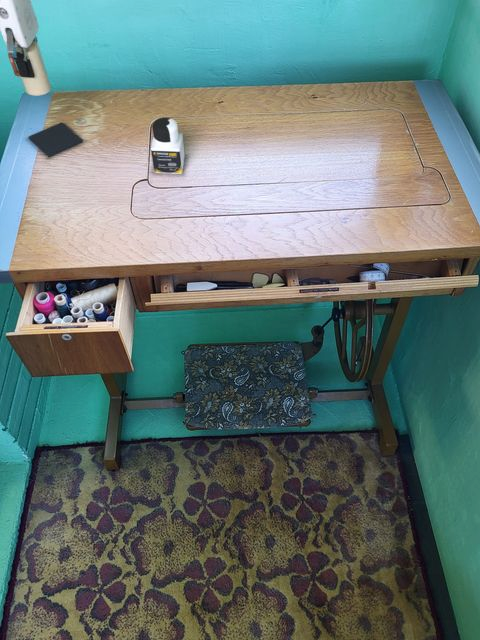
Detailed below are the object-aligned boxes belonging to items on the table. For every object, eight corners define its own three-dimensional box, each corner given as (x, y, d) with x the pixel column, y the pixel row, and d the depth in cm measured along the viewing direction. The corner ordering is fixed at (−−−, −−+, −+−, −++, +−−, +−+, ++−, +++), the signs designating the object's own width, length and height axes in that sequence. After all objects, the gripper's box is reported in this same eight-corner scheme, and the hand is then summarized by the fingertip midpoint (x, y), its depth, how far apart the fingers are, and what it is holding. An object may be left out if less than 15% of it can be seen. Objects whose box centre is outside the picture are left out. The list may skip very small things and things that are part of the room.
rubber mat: (48, 157, 135) (48, 155, 134) (29, 139, 139) (28, 136, 138) (82, 142, 139) (81, 139, 138) (62, 124, 142) (61, 122, 142)
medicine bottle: (154, 173, 133) (147, 131, 123) (157, 155, 137) (151, 113, 127) (182, 174, 133) (178, 132, 123) (184, 156, 137) (180, 114, 127)
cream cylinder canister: (53, 82, 128) (41, 40, 120) (47, 96, 125) (34, 53, 117) (23, 80, 128) (8, 37, 120) (15, 94, 125) (0, 51, 117)
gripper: (9, 2, 103) (38, 90, 118) (33, -36, 112) (57, 50, 127) (-30, 0, 103) (4, 88, 118) (-2, -38, 112) (26, 48, 127)
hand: (31, 68), depth 122 cm, fingers closed on cream cylinder canister, 6 cm apart
